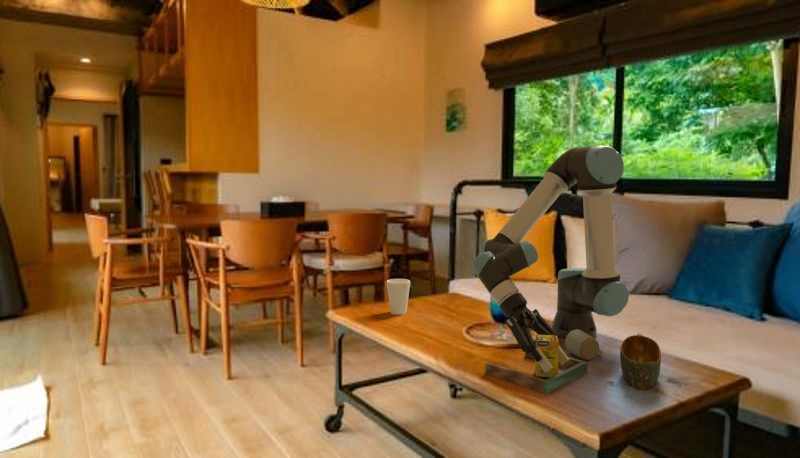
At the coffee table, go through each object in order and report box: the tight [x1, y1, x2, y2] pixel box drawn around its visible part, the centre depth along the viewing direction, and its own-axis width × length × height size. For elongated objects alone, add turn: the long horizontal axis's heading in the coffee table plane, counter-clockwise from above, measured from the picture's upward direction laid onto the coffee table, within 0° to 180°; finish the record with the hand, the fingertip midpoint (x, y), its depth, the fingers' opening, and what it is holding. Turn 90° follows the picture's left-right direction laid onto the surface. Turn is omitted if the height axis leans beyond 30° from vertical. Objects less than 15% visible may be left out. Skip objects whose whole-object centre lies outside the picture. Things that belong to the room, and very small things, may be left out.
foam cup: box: [386, 278, 411, 316], centre depth 220 cm, size 10×9×13 cm
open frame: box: [484, 352, 589, 395], centre depth 154 cm, size 20×21×3 cm
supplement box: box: [534, 334, 560, 380], centre depth 152 cm, size 6×6×11 cm
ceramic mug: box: [564, 329, 604, 361], centre depth 168 cm, size 11×8×8 cm
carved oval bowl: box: [619, 333, 662, 391], centre depth 150 cm, size 13×20×10 cm, turn 131°
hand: (557, 366), depth 150 cm, fingers closed on supplement box, 8 cm apart
